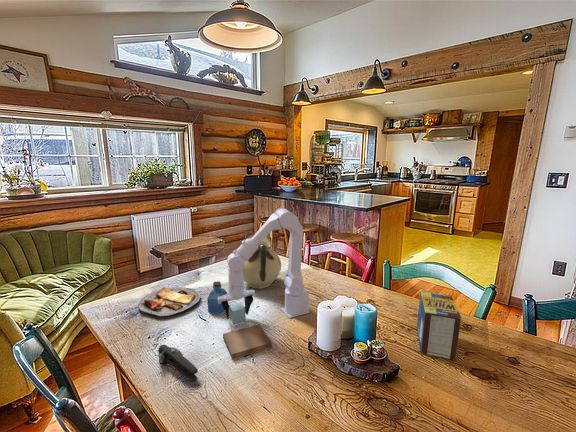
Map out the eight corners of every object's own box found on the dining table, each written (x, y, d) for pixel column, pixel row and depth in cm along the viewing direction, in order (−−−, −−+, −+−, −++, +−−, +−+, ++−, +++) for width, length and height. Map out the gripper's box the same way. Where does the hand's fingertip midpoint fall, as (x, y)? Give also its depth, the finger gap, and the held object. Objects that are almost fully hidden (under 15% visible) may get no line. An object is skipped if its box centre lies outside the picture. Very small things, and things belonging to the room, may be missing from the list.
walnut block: (259, 329, 109) (259, 323, 108) (272, 348, 98) (272, 342, 98) (223, 339, 103) (222, 333, 102) (232, 361, 92) (231, 354, 92)
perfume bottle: (221, 313, 119) (220, 286, 116) (208, 312, 120) (206, 285, 118) (227, 306, 125) (226, 280, 122) (214, 304, 126) (213, 279, 124)
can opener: (153, 362, 91) (151, 346, 90) (173, 350, 97) (171, 336, 96) (185, 389, 81) (183, 372, 80) (205, 375, 86) (204, 358, 85)
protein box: (446, 333, 106) (451, 295, 103) (455, 361, 92) (462, 317, 88) (416, 328, 109) (420, 290, 106) (420, 354, 95) (424, 311, 92)
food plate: (126, 310, 121) (126, 302, 120) (168, 287, 142) (167, 281, 142) (172, 324, 112) (172, 316, 111) (210, 298, 133) (209, 291, 132)
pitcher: (257, 270, 162) (256, 228, 157) (291, 281, 149) (292, 235, 143) (228, 285, 145) (225, 238, 139) (263, 299, 131) (262, 247, 125)
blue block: (241, 315, 117) (241, 302, 116) (245, 322, 113) (245, 308, 112) (229, 318, 115) (229, 305, 114) (233, 325, 111) (232, 311, 110)
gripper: (250, 276, 117) (251, 306, 120) (215, 283, 111) (216, 314, 114) (256, 283, 111) (257, 315, 114) (219, 290, 105) (220, 324, 108)
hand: (237, 315), depth 114 cm, fingers open, 7 cm apart
